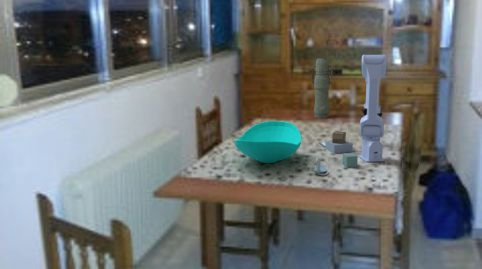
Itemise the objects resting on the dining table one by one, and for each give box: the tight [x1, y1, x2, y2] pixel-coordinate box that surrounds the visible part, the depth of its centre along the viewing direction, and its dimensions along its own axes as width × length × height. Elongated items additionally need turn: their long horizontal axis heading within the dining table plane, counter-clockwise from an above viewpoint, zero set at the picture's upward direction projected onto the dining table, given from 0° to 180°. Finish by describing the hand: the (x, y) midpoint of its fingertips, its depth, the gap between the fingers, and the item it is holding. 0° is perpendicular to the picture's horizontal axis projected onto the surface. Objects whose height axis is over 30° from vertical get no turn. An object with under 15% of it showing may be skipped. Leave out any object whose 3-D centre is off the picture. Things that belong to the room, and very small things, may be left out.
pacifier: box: [312, 157, 330, 176], centre depth 204 cm, size 7×6×6 cm
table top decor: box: [233, 120, 303, 164], centre depth 222 cm, size 40×28×13 cm
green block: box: [342, 152, 359, 168], centre depth 213 cm, size 5×5×5 cm
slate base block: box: [324, 139, 354, 154], centre depth 237 cm, size 9×9×4 cm
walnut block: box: [331, 130, 347, 144], centre depth 236 cm, size 5×5×5 cm
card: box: [318, 141, 325, 148], centre depth 247 cm, size 8×8×1 cm
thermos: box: [311, 56, 333, 119], centre depth 306 cm, size 9×12×35 cm
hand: (371, 126), depth 241 cm, fingers open, 7 cm apart
